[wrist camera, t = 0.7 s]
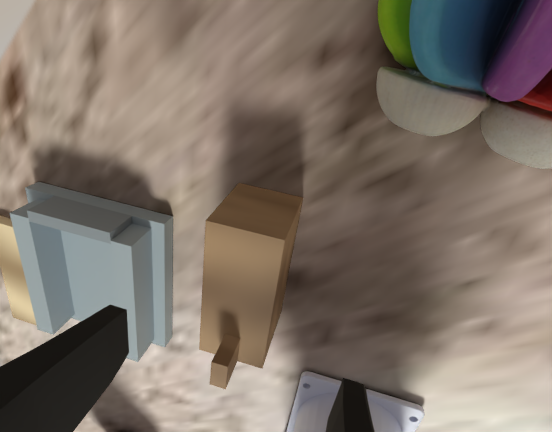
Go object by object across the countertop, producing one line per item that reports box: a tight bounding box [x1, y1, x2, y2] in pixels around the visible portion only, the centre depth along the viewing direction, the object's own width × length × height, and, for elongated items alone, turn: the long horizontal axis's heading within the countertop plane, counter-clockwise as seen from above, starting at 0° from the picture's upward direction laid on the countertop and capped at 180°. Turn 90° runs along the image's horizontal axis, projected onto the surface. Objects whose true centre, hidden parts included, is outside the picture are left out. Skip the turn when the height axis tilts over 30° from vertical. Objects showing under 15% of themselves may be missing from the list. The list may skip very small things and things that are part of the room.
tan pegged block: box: [199, 183, 303, 389], centre depth 18 cm, size 8×4×6 cm, turn 172°
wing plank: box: [0, 215, 37, 325], centre depth 27 cm, size 9×3×1 cm, turn 169°
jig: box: [10, 182, 173, 362], centre depth 23 cm, size 10×9×3 cm
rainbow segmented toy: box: [376, 0, 552, 169], centre depth 11 cm, size 8×10×7 cm
